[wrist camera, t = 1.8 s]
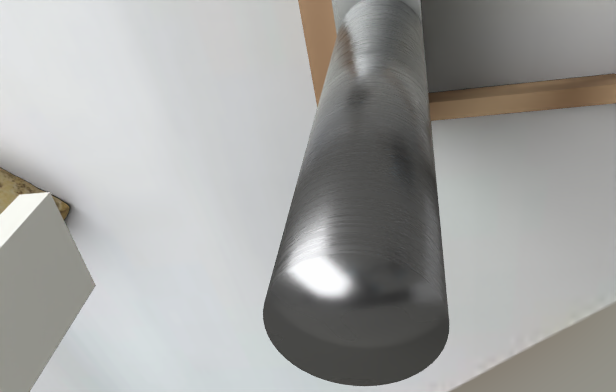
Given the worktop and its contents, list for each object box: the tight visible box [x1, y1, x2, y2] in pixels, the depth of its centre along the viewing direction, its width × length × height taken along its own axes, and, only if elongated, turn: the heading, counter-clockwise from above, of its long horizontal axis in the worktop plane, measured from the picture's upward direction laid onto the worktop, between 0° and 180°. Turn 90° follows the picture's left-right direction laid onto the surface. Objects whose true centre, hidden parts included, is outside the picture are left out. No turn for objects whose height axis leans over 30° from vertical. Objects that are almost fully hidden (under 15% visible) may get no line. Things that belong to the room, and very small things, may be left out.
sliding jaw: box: [263, 0, 449, 386], centre depth 18 cm, size 3×10×22 cm, turn 10°
